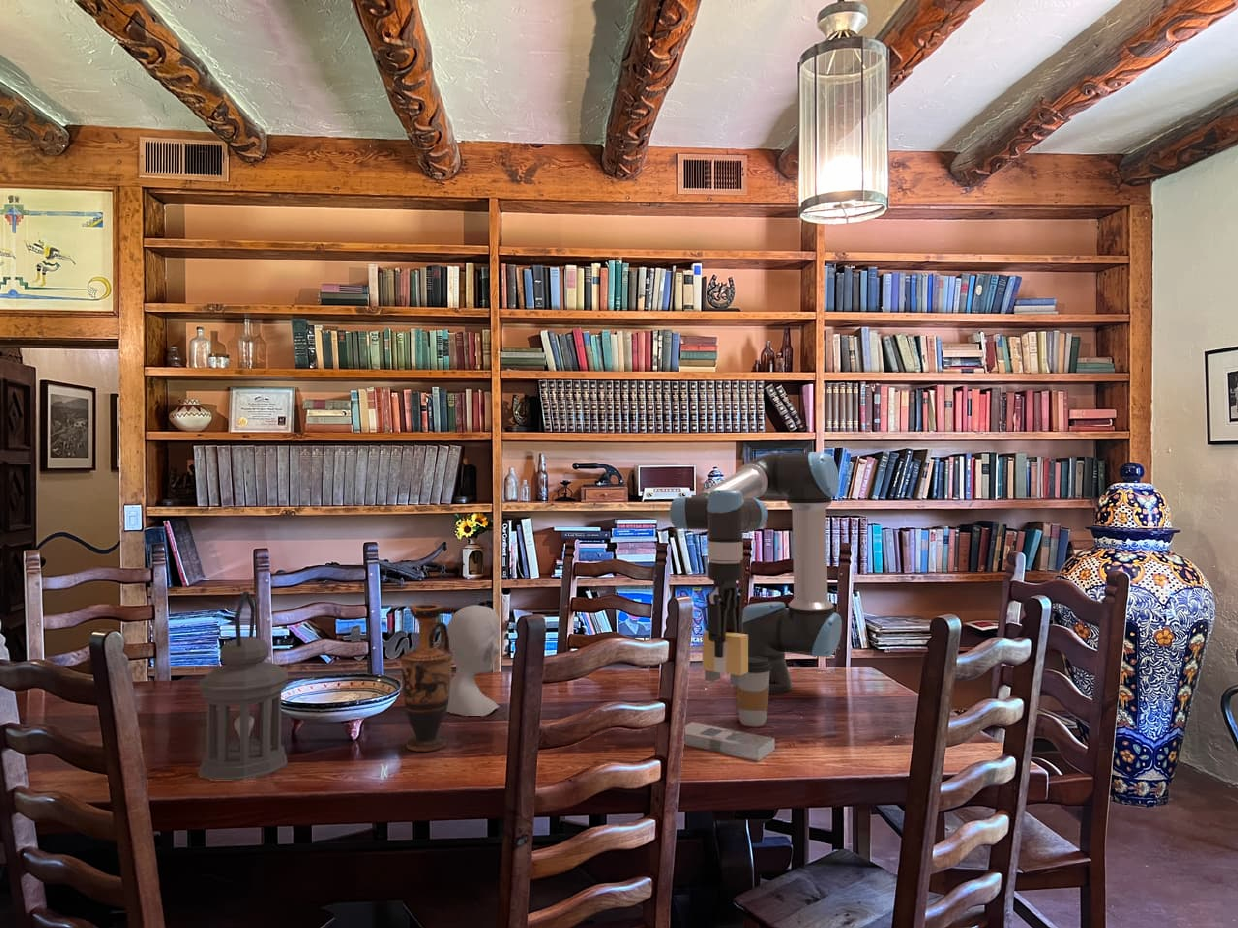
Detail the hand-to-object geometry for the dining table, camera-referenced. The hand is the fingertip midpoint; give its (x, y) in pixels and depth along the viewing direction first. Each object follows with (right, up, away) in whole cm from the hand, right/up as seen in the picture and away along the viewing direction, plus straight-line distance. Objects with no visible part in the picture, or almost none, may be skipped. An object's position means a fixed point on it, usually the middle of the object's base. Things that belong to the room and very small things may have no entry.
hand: (725, 669), depth 172 cm
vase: (-64, -17, 0) cm, 67 cm away
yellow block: (0, -2, 0) cm, 2 cm away
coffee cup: (+9, -17, +17) cm, 25 cm away
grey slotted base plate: (0, -16, 0) cm, 17 cm away
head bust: (-60, -17, +32) cm, 71 cm away
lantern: (-98, -16, -12) cm, 100 cm away
